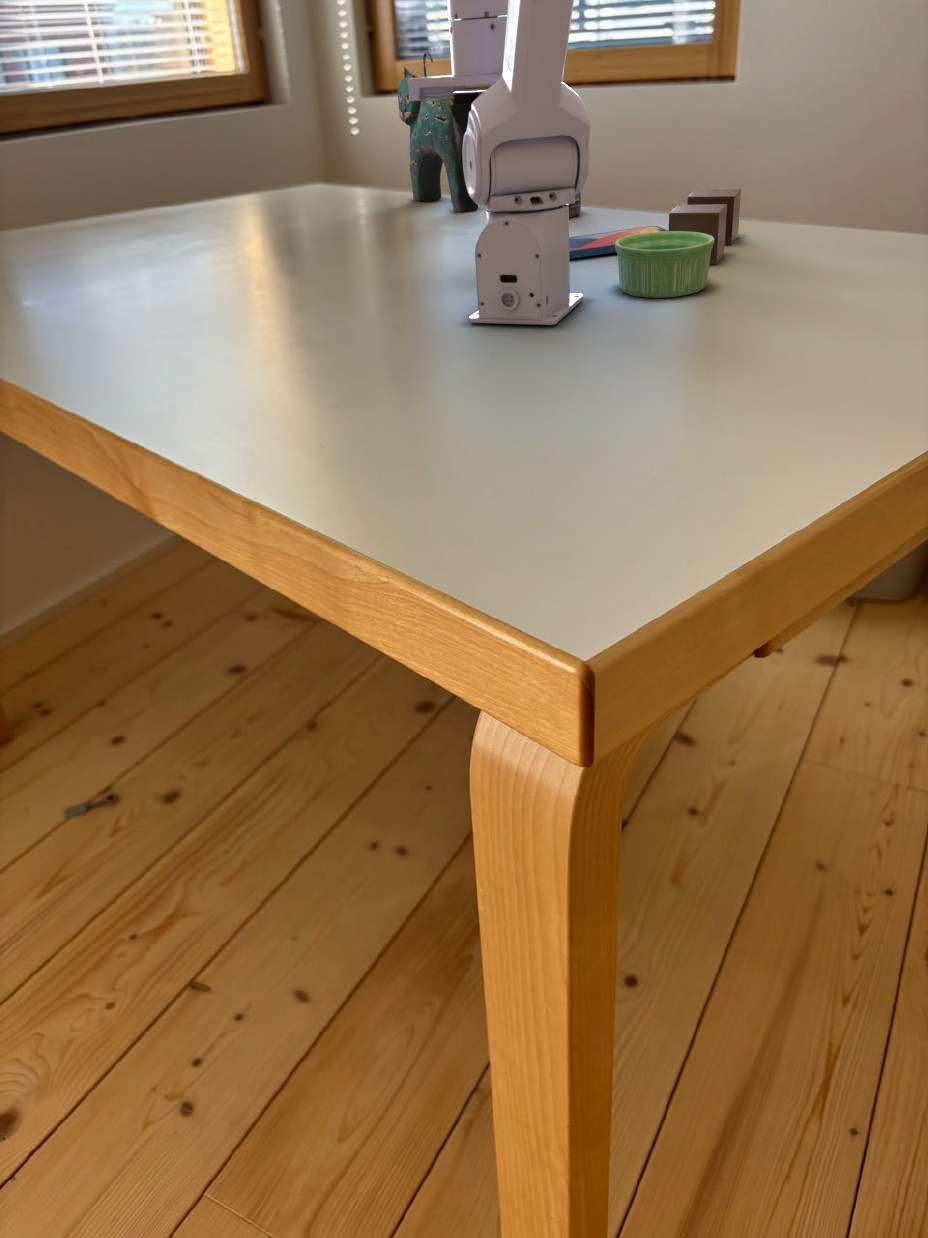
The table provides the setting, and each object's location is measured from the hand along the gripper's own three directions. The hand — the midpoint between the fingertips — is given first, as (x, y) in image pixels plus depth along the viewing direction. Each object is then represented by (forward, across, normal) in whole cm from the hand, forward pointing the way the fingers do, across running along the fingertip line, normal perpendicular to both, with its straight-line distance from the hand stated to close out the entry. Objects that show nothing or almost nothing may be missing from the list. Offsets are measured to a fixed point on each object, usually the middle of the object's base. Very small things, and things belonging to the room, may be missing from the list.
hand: (487, 180), depth 98 cm
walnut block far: (+9, -19, -20) cm, 29 cm away
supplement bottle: (+10, +4, -37) cm, 38 cm away
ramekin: (+10, -18, +3) cm, 21 cm away
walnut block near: (+9, -19, -10) cm, 23 cm away
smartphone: (+10, -8, -15) cm, 19 cm away
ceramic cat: (+10, +25, -48) cm, 55 cm away
